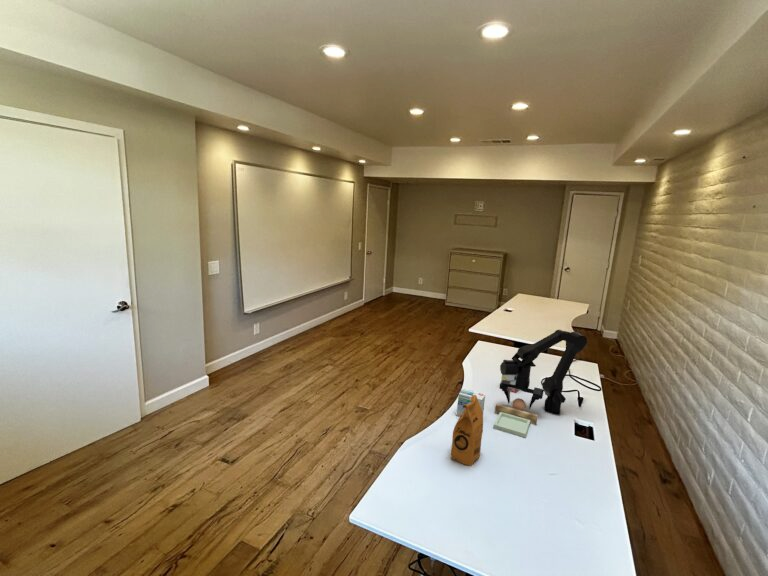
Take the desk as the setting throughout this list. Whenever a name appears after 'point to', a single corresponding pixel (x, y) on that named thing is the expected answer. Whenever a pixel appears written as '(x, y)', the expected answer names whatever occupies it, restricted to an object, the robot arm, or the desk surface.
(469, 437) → the coffee package
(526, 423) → the sage tray
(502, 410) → the oak rail
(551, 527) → the desk surface
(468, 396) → the light bulb box
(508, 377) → the ink box
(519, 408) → the ball
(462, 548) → the desk surface
